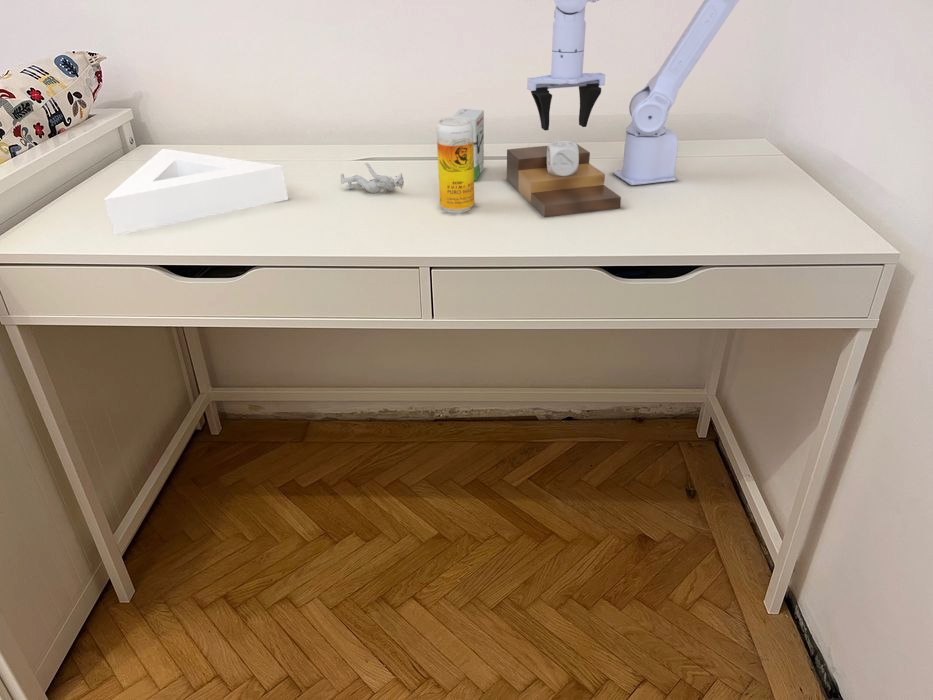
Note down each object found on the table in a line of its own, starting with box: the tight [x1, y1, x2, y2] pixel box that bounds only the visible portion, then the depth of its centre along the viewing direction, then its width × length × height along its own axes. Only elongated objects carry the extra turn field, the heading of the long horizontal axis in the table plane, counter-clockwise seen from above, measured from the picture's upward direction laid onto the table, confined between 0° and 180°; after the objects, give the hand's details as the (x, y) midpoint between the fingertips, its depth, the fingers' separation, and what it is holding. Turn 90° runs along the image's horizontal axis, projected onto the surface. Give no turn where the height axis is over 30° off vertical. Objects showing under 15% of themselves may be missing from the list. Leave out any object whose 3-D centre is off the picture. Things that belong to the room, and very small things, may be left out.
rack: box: [506, 143, 622, 218], centre depth 126 cm, size 14×21×6 cm, turn 15°
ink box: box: [452, 108, 485, 181], centre depth 136 cm, size 9×5×12 cm, turn 168°
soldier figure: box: [340, 162, 405, 194], centre depth 129 cm, size 8×5×12 cm
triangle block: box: [103, 148, 289, 237], centre depth 129 cm, size 30×26×6 cm
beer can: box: [436, 116, 475, 214], centre depth 118 cm, size 6×6×15 cm
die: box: [547, 140, 579, 176], centre depth 124 cm, size 5×5×5 cm
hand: (563, 127), depth 132 cm, fingers open, 7 cm apart
